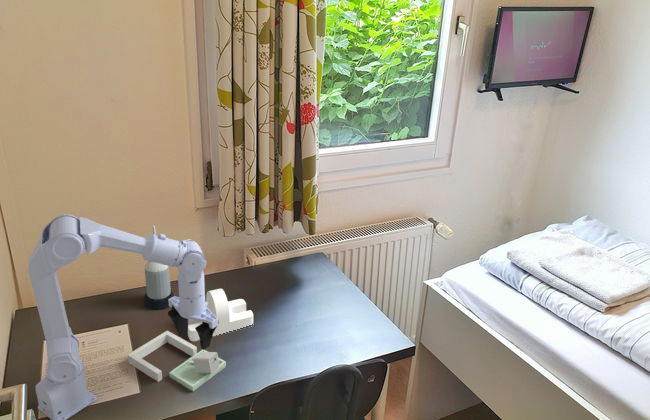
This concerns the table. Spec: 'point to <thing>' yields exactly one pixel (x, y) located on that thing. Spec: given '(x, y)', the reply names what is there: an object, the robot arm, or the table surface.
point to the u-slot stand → (223, 314)
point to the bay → (152, 345)
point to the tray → (193, 374)
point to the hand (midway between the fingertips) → (194, 340)
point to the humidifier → (157, 285)
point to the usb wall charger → (205, 362)
